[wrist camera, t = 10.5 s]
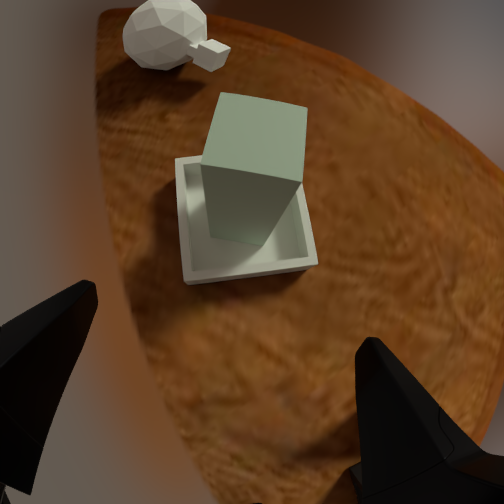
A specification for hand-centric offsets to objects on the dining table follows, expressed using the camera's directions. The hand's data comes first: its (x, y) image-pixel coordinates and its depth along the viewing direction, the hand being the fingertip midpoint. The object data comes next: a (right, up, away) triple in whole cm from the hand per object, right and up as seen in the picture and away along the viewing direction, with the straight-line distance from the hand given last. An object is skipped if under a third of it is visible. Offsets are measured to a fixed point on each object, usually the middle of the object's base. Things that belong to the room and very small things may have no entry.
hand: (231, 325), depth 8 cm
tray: (0, +5, +14) cm, 15 cm away
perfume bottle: (-8, +23, +17) cm, 29 cm away
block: (0, +5, +13) cm, 14 cm away
